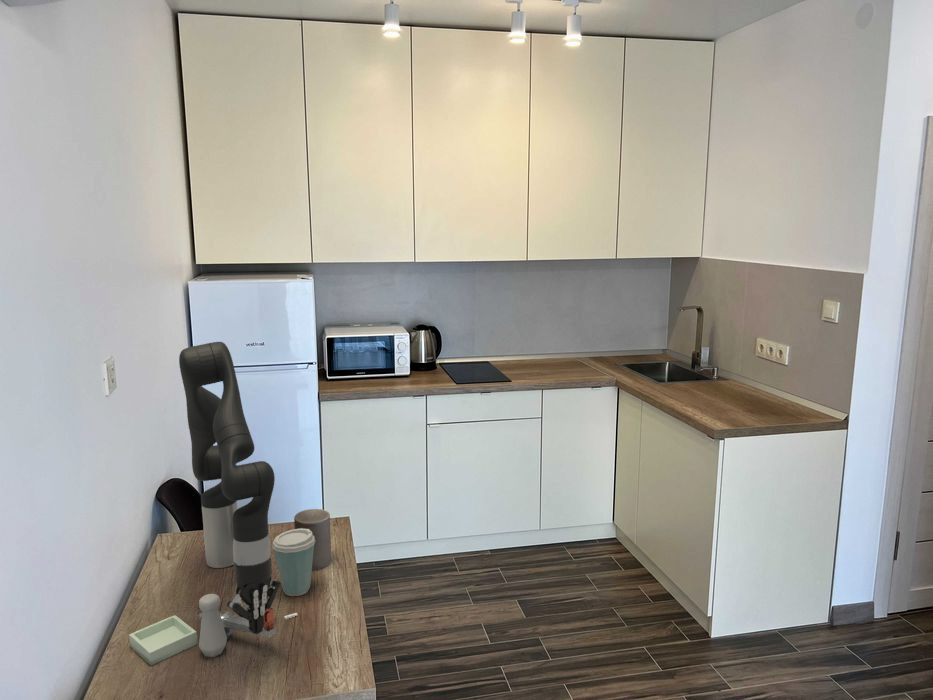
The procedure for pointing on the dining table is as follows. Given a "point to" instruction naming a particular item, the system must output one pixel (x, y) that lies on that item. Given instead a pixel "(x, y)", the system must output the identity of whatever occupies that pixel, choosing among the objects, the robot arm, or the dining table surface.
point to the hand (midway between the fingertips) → (256, 631)
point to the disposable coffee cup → (294, 560)
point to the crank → (243, 623)
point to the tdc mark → (290, 616)
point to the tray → (163, 639)
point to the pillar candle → (317, 534)
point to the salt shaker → (211, 627)
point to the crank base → (229, 634)
